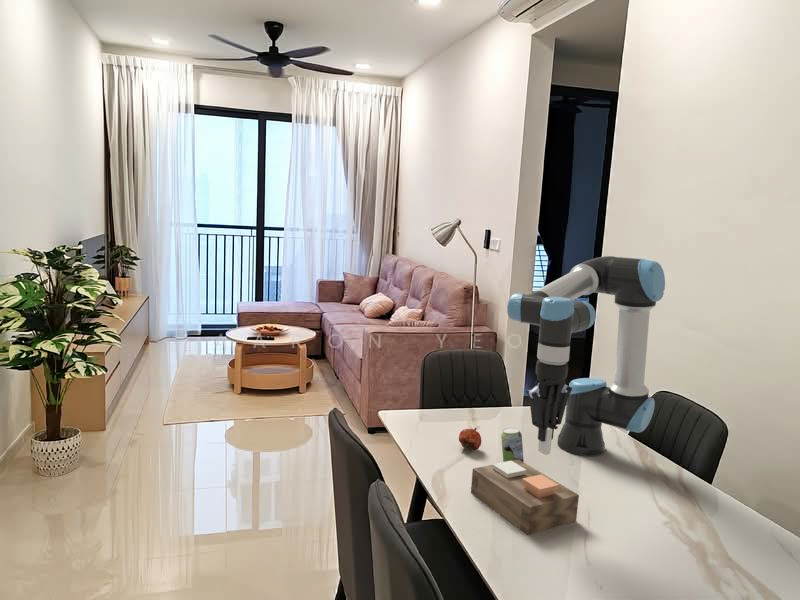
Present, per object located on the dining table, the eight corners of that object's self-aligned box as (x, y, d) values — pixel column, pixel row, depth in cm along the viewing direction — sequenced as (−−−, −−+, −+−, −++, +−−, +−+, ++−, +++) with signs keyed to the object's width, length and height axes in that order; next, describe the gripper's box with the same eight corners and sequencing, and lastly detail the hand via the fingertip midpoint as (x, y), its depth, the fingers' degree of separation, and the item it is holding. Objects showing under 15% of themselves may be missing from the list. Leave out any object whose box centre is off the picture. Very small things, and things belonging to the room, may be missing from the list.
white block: (508, 487, 167) (511, 460, 166) (523, 497, 161) (526, 469, 160) (490, 491, 164) (492, 464, 163) (505, 502, 158) (507, 473, 157)
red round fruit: (475, 462, 189) (491, 438, 194) (465, 447, 185) (482, 423, 190) (457, 457, 194) (473, 433, 199) (448, 442, 191) (464, 418, 196)
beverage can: (523, 473, 177) (527, 435, 175) (498, 470, 179) (501, 432, 177) (523, 465, 183) (526, 427, 182) (499, 462, 185) (502, 424, 183)
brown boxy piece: (516, 482, 171) (518, 459, 170) (576, 521, 152) (578, 495, 150) (470, 492, 163) (472, 468, 162) (527, 534, 144) (530, 507, 143)
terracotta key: (538, 503, 156) (541, 474, 155) (556, 514, 151) (559, 484, 150) (519, 508, 153) (522, 478, 152) (536, 519, 148) (539, 489, 147)
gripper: (561, 354, 153) (553, 442, 156) (521, 359, 146) (513, 450, 150) (583, 362, 146) (574, 453, 150) (542, 367, 140) (534, 462, 144)
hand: (544, 452), depth 150 cm, fingers closed
